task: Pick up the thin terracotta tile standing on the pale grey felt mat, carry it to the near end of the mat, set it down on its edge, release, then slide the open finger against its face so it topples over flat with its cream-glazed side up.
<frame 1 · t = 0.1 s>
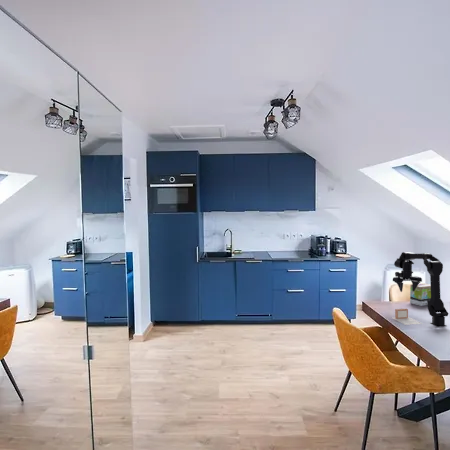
hand: (407, 291, 225), 15 cm above the table, fingers open, 9 cm apart
mat: (406, 321, 206), on the table
tea box: (422, 303, 245), on the table
tile: (401, 318, 210), resting on mat
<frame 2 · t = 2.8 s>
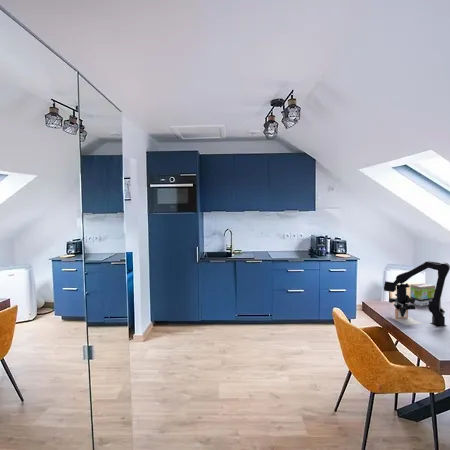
hand: (401, 316, 210), 2 cm above the table, fingers closed on tile, 2 cm apart
tile: (401, 318, 210), resting on mat, touching gripper
everything else where it was.
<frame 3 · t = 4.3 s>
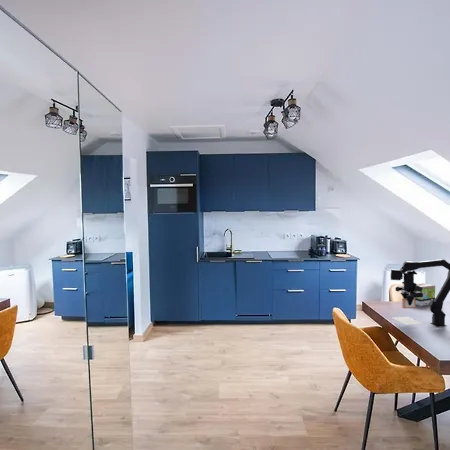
hand: (408, 304, 203), 11 cm above the table, fingers closed on tile
tile: (408, 307, 203), point 9 cm above the table, touching gripper
everything else where it was.
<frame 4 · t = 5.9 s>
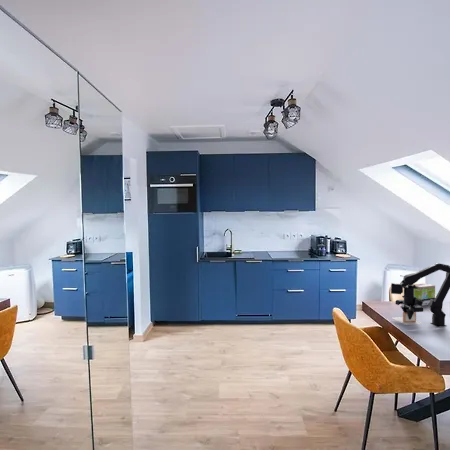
hand: (408, 318, 203), 2 cm above the table, fingers closed on tile, 2 cm apart
tile: (409, 321, 204), resting on mat, touching gripper
everything else where it was.
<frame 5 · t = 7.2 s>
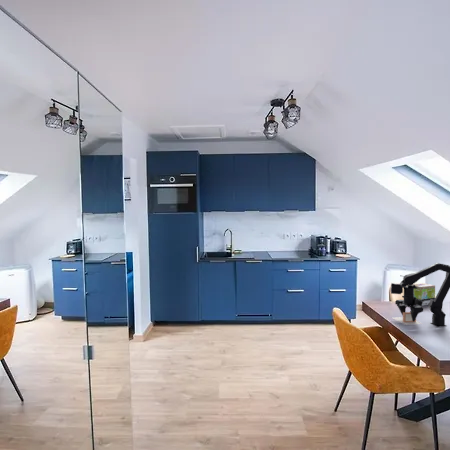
hand: (408, 318, 203), 2 cm above the table, fingers open, 9 cm apart
tile: (409, 321, 204), resting on mat
everything else where it was.
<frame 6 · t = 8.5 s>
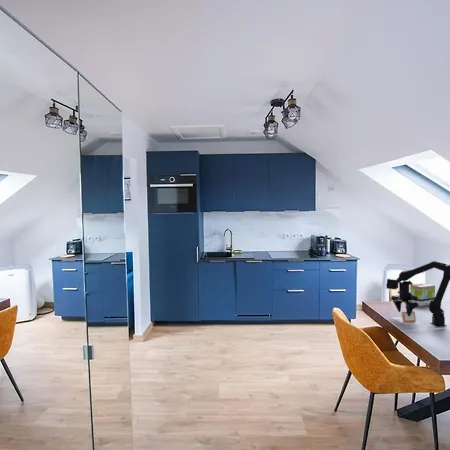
hand: (404, 314, 208), 4 cm above the table, fingers open, 9 cm apart
tile: (409, 321, 204), point 1 cm above the table, tilted 13°, touching mat
everything else where it was.
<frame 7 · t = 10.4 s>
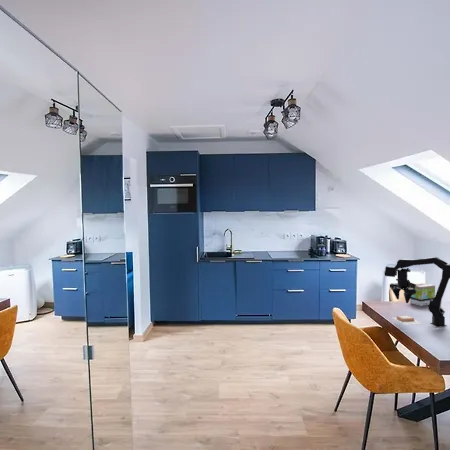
hand: (402, 301, 210), 12 cm above the table, fingers open, 9 cm apart
tile: (408, 319, 204), point 1 cm above the table, tilted 90°, touching mat
everything else where it was.
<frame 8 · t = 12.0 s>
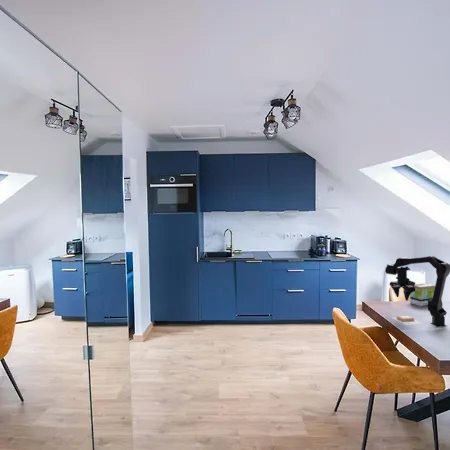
hand: (402, 298, 216), 12 cm above the table, fingers open, 9 cm apart
nothing on the table moved.
at the end: tile tilted 90°; tile inside the target area (2.6 cm from its centre), point 1.3 cm above the table; the gripper is holding nothing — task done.
